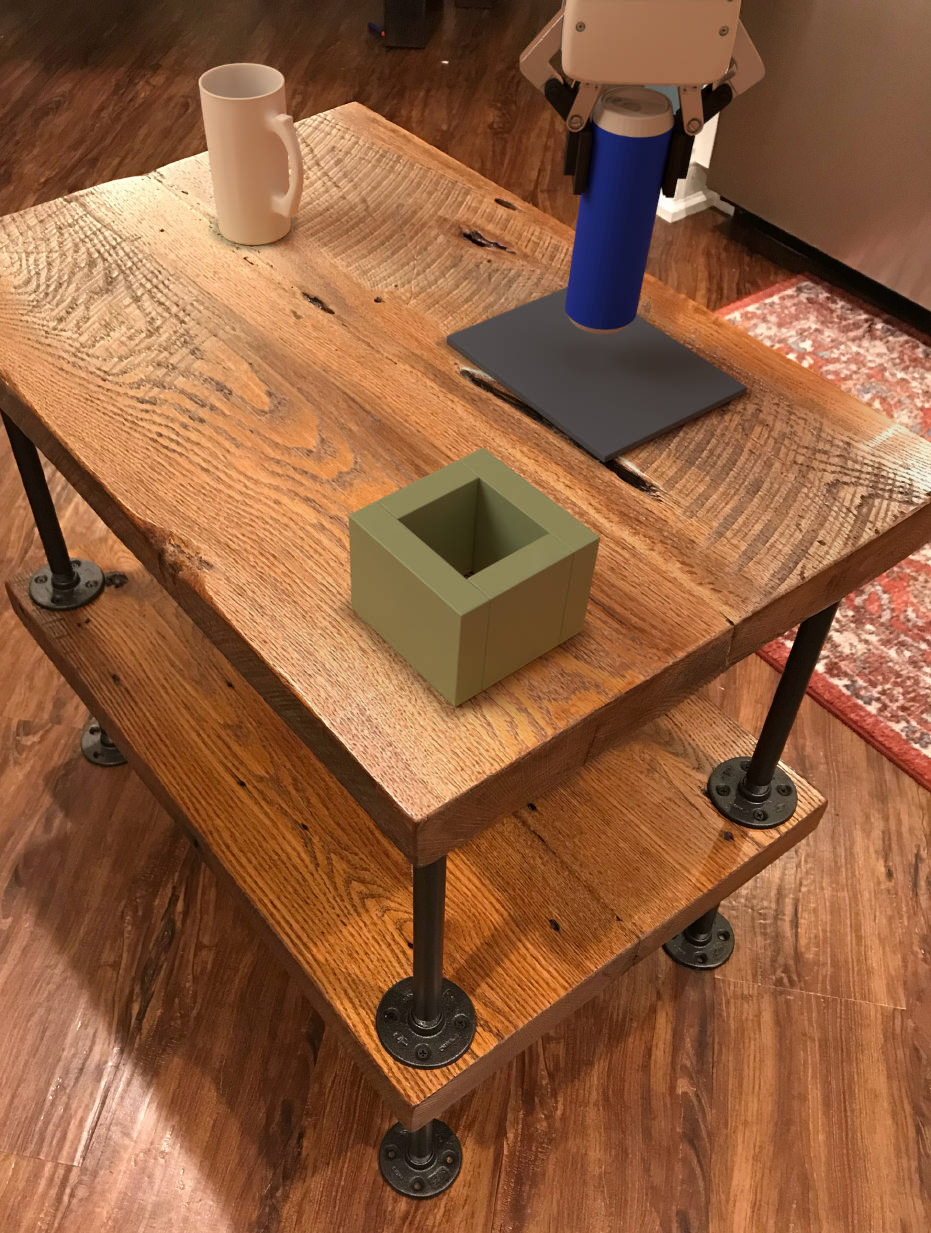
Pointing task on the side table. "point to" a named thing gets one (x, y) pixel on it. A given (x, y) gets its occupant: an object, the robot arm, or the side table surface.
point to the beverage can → (618, 207)
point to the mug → (251, 152)
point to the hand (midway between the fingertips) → (622, 183)
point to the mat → (596, 375)
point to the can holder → (456, 545)
